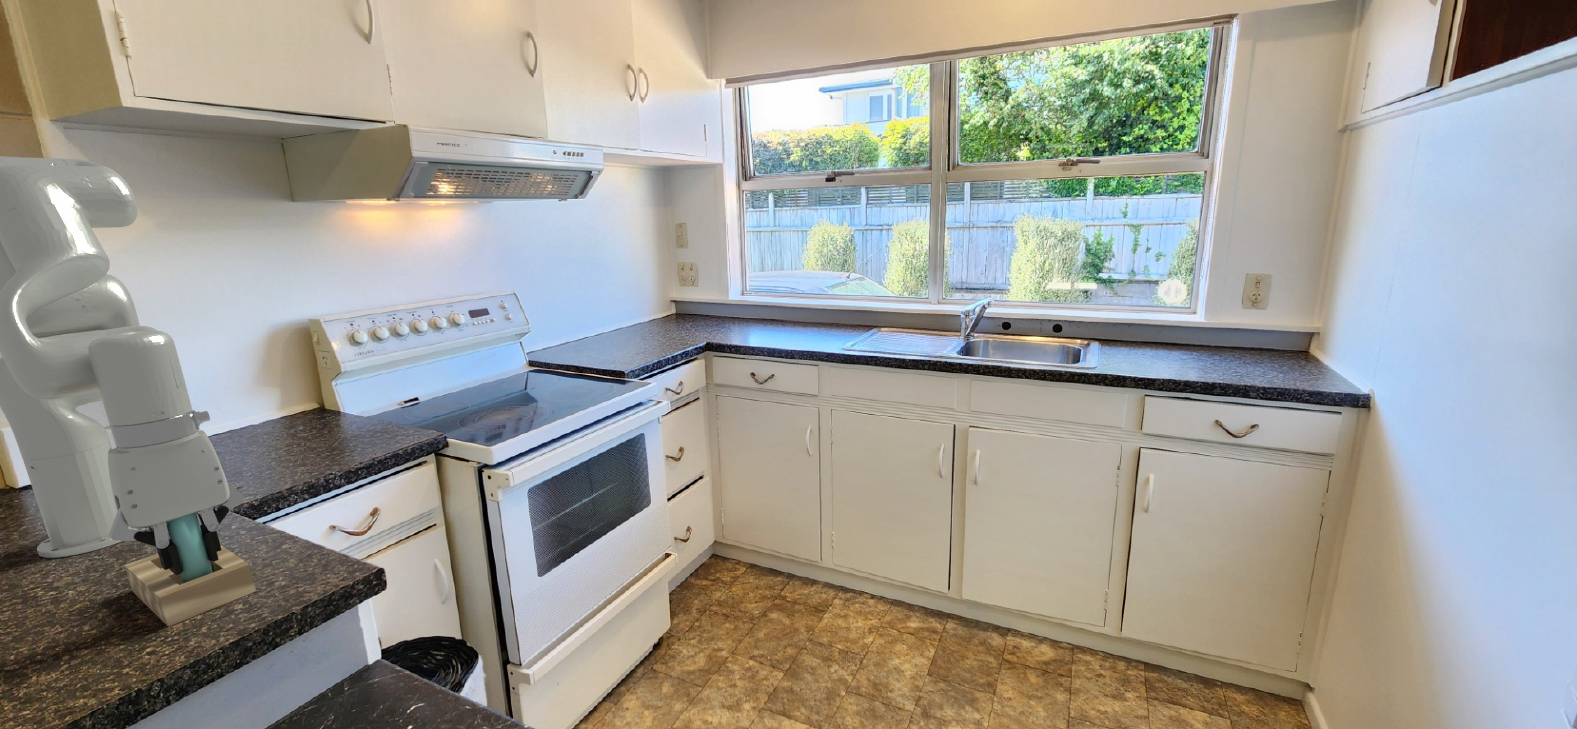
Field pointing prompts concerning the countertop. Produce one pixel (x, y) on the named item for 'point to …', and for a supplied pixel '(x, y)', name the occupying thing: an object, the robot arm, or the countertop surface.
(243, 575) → the hole block
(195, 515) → the peg
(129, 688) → the countertop surface
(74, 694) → the countertop surface
